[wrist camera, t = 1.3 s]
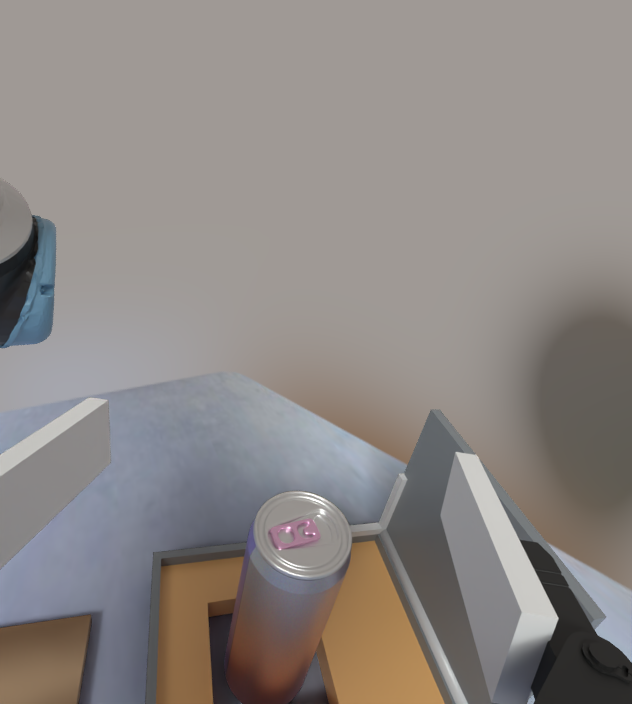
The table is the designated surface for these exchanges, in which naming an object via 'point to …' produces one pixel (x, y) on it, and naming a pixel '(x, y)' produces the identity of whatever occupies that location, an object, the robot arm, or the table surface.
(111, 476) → the table surface
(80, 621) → the walnut board
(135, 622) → the table surface
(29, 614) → the table surface
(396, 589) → the equipment case
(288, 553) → the beverage can
